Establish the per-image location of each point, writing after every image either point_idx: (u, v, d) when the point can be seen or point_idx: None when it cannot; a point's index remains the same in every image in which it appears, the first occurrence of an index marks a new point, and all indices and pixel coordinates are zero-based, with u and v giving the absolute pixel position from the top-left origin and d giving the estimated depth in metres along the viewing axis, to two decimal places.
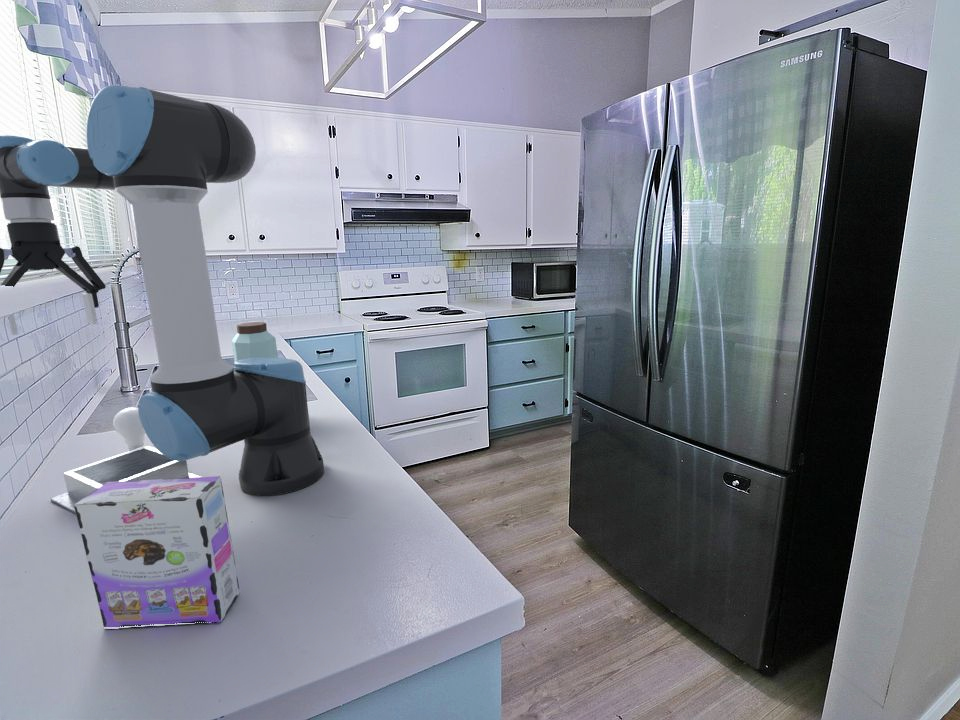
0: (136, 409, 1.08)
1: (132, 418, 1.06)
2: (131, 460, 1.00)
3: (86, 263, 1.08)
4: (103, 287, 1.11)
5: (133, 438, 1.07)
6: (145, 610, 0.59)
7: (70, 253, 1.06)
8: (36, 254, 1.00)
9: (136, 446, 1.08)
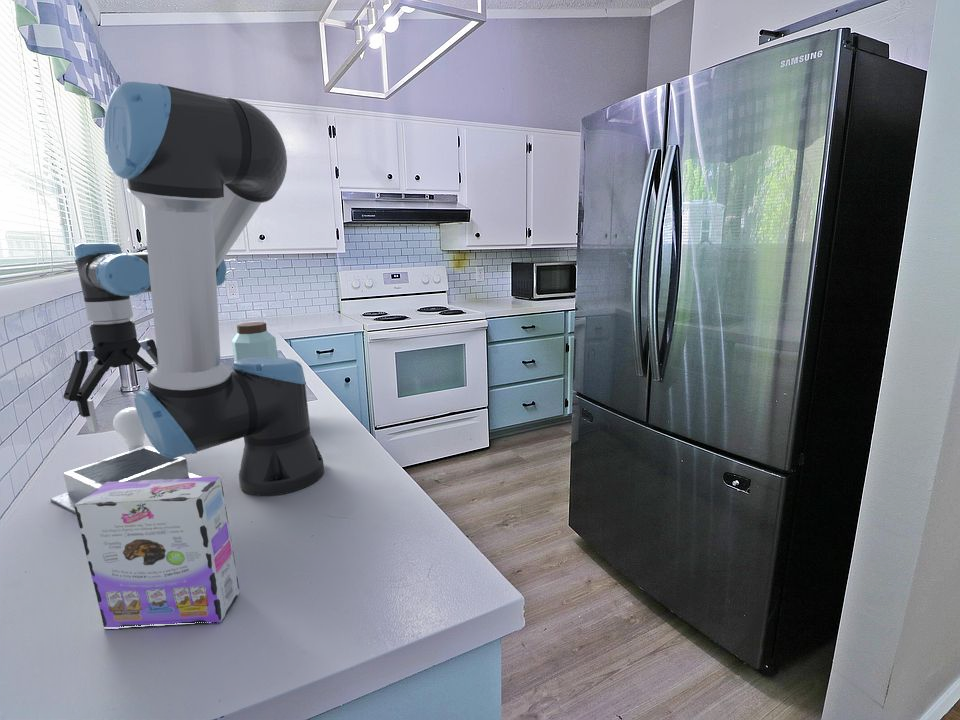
0: None
1: (132, 418, 1.06)
2: (131, 460, 1.00)
3: None
4: None
5: (133, 438, 1.07)
6: (145, 610, 0.59)
7: (145, 346, 1.09)
8: (116, 353, 1.03)
9: (136, 446, 1.08)
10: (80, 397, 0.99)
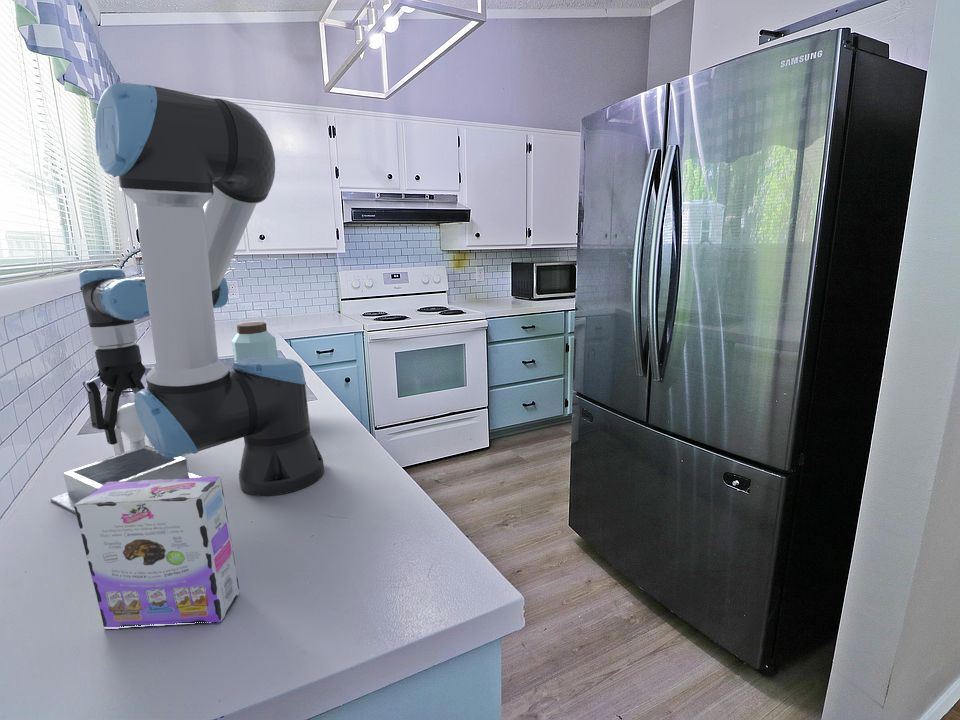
0: None
1: (132, 413, 1.05)
2: (131, 460, 1.00)
3: None
4: None
5: (134, 434, 1.07)
6: (145, 610, 0.59)
7: None
8: (121, 376, 1.04)
9: (137, 442, 1.08)
10: (108, 426, 1.03)
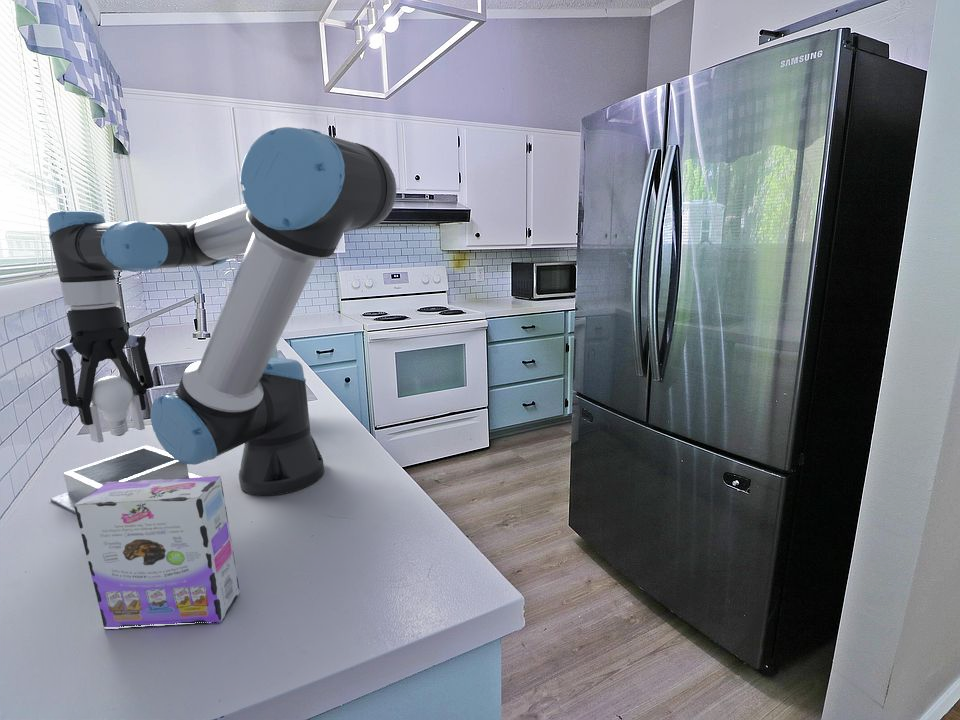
0: (117, 378, 0.90)
1: (112, 388, 0.88)
2: (131, 460, 1.00)
3: (145, 356, 0.93)
4: (150, 386, 0.95)
5: (113, 413, 0.89)
6: (145, 610, 0.59)
7: (133, 342, 0.92)
8: (98, 344, 0.86)
9: (117, 422, 0.90)
10: (81, 403, 0.86)
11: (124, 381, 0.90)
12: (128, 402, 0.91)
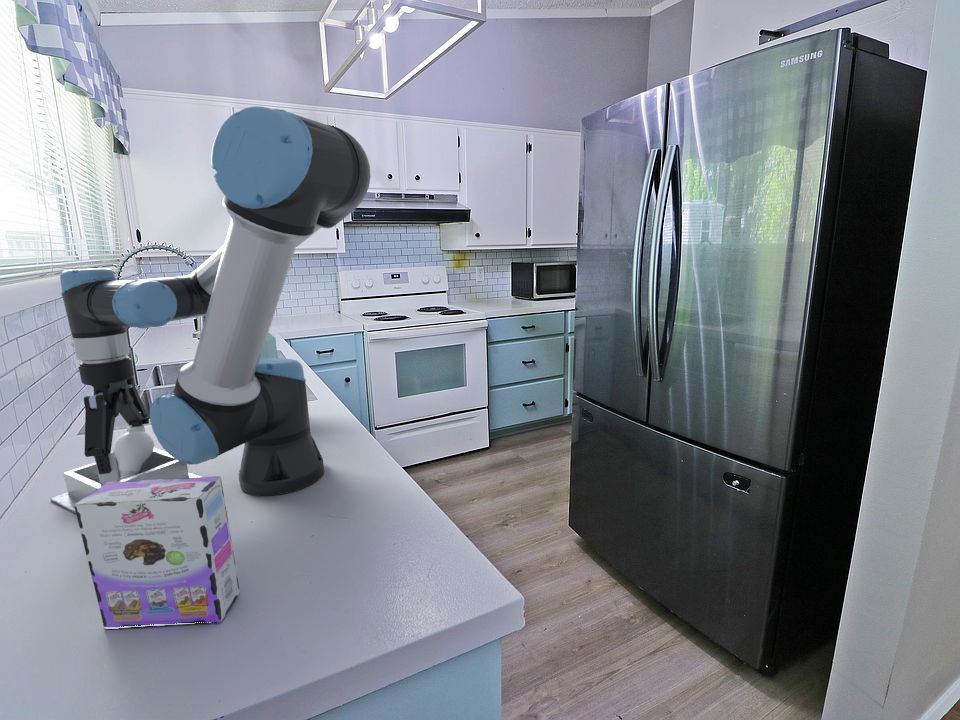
0: None
1: (150, 437, 0.96)
2: None
3: (137, 393, 0.98)
4: (146, 416, 1.01)
5: (139, 461, 0.94)
6: (145, 610, 0.59)
7: (126, 385, 0.95)
8: (121, 393, 0.90)
9: (135, 472, 0.93)
10: (105, 450, 0.84)
11: None
12: (148, 457, 0.96)
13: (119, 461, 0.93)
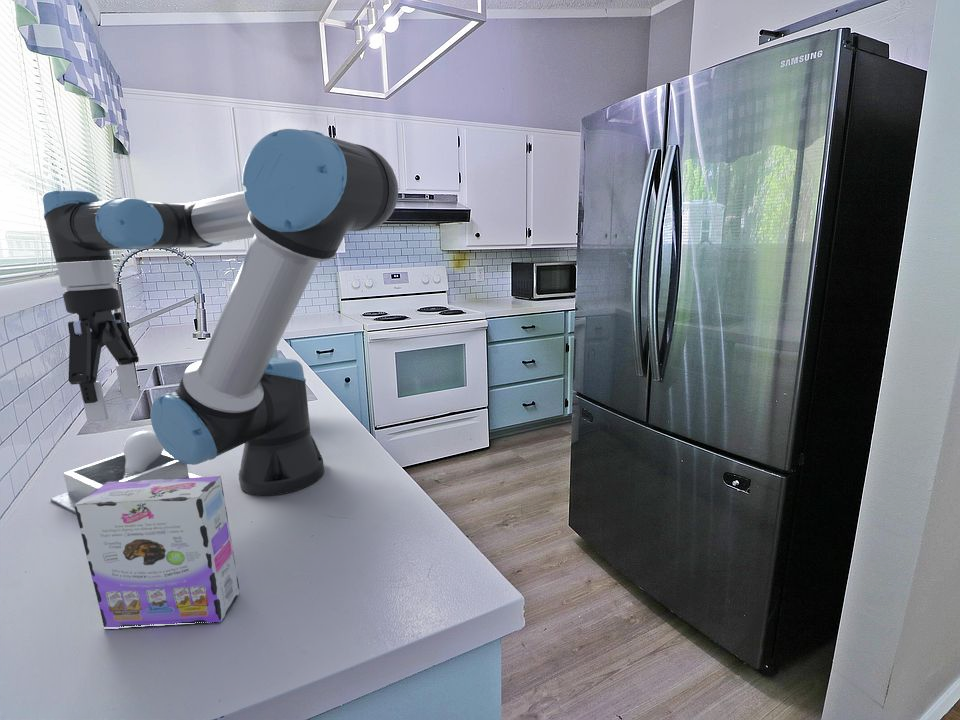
0: None
1: None
2: None
3: (126, 330, 0.95)
4: (136, 355, 0.98)
5: (146, 462, 0.94)
6: (145, 610, 0.59)
7: (114, 320, 0.92)
8: (108, 324, 0.87)
9: None
10: (90, 377, 0.81)
11: None
12: None
13: (127, 459, 0.93)
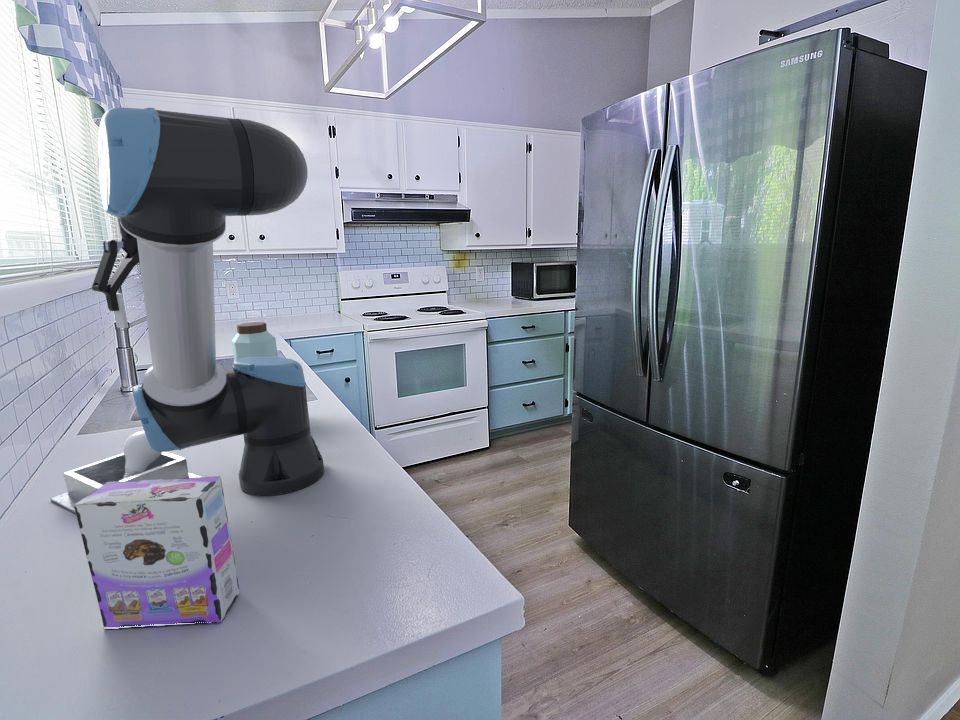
0: None
1: None
2: None
3: None
4: None
5: (146, 462, 0.94)
6: (145, 610, 0.59)
7: None
8: None
9: None
10: (109, 289, 0.95)
11: None
12: None
13: (127, 459, 0.93)
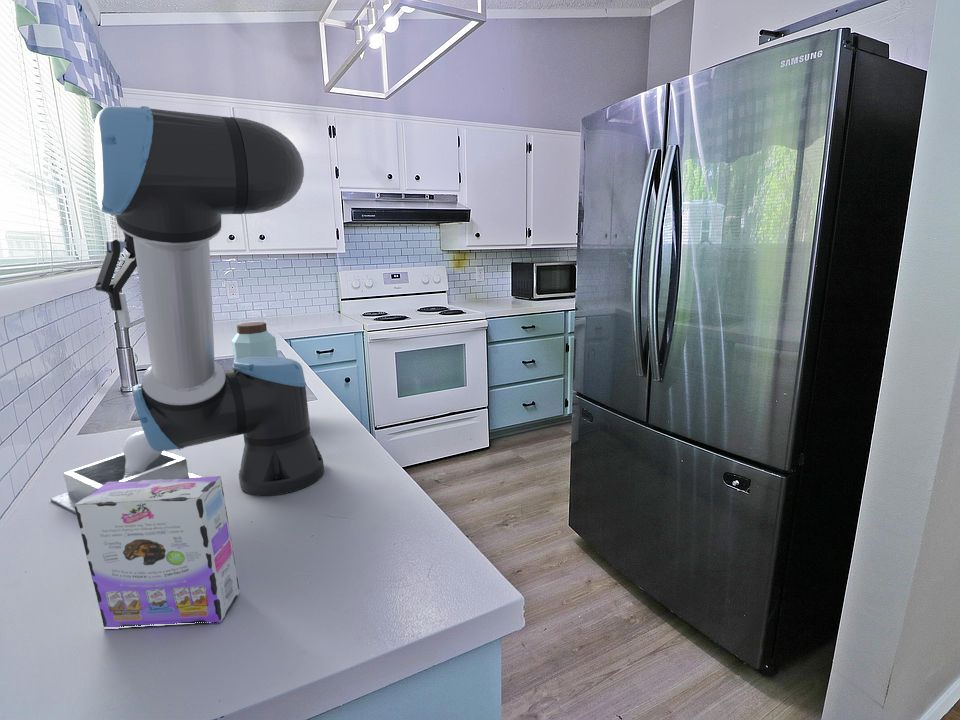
0: None
1: None
2: None
3: None
4: None
5: (146, 462, 0.94)
6: (145, 610, 0.59)
7: None
8: None
9: None
10: (112, 288, 0.96)
11: None
12: None
13: (127, 459, 0.93)
